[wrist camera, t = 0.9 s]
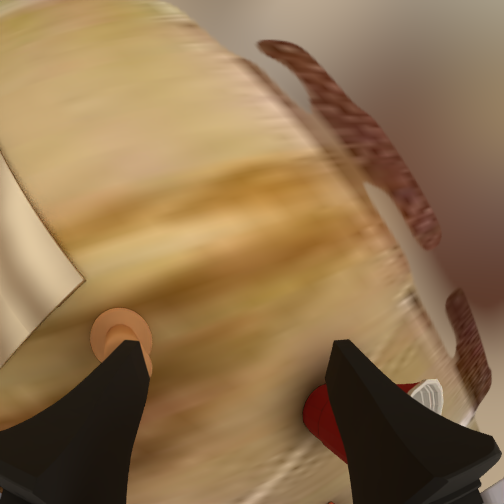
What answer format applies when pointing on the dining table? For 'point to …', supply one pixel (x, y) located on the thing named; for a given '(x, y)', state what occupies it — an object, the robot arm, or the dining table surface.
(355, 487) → the robot arm
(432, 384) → the plastic cup
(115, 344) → the keyhole peg
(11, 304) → the keyhole board
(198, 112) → the dining table surface
